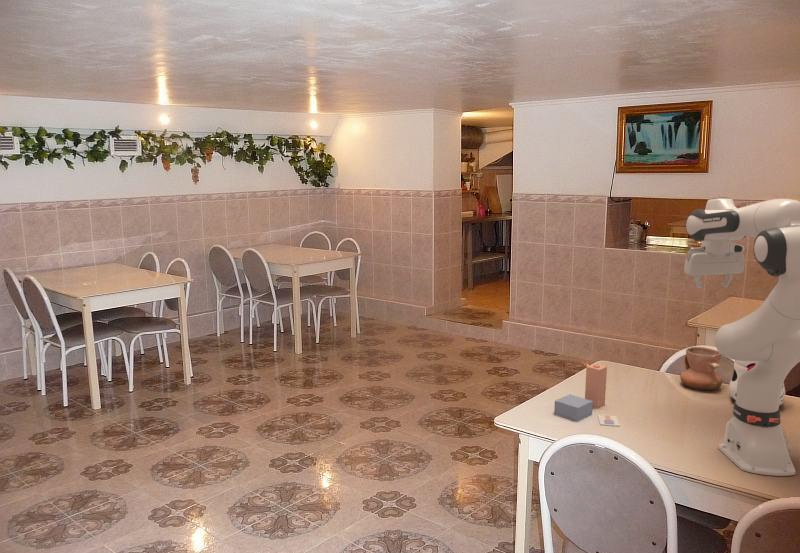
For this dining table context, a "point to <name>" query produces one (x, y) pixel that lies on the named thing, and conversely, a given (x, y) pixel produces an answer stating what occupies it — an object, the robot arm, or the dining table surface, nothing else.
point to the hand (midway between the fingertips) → (712, 287)
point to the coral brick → (596, 384)
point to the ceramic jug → (701, 368)
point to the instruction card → (608, 420)
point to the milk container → (738, 371)
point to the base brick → (573, 407)
